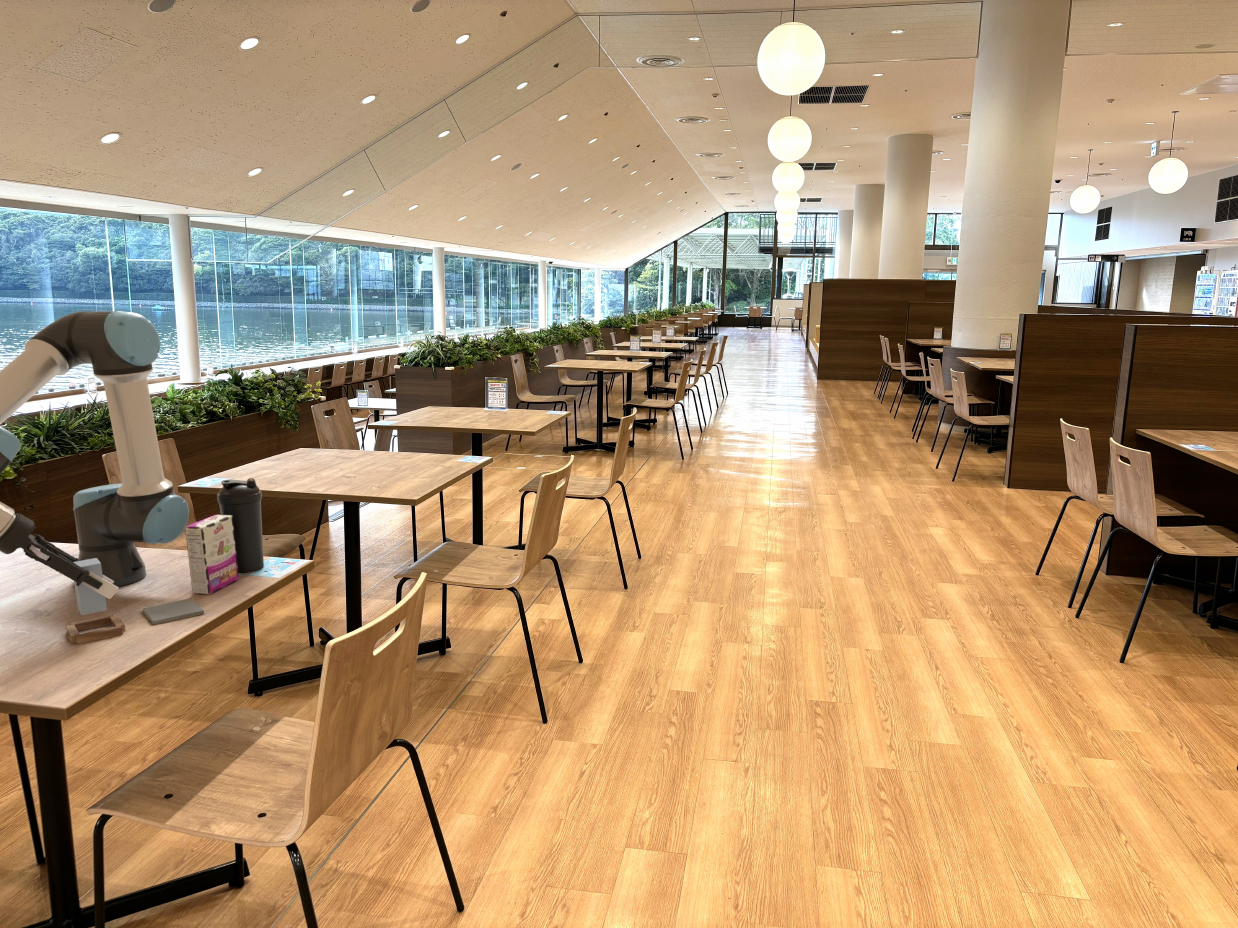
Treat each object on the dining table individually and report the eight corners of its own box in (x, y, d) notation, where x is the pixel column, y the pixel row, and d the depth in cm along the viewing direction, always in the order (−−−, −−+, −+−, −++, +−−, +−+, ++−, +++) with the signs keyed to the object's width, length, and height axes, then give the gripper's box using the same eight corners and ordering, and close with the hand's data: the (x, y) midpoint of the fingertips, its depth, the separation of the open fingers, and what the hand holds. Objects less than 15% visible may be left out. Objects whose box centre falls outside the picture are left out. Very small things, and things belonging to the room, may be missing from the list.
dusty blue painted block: (77, 608, 176) (71, 562, 174) (103, 603, 179) (96, 557, 177) (81, 615, 173) (75, 567, 171) (107, 609, 176) (100, 563, 174)
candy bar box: (221, 578, 211) (215, 513, 208) (239, 580, 210) (233, 514, 207) (190, 594, 200) (183, 525, 197) (209, 595, 199) (202, 527, 196)
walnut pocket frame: (65, 630, 178) (64, 624, 178) (117, 620, 184) (116, 613, 184) (73, 645, 171) (72, 638, 170) (127, 633, 177) (126, 626, 176)
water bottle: (224, 565, 221) (216, 477, 217) (267, 560, 225) (260, 474, 221) (223, 576, 212) (215, 485, 208) (268, 571, 216) (260, 482, 212)
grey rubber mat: (142, 611, 189) (142, 608, 189) (191, 601, 195) (191, 597, 195) (153, 624, 181) (152, 621, 181) (204, 613, 188) (203, 610, 187)
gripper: (-17, 533, 169) (90, 593, 183) (-9, 554, 156) (107, 617, 170) (11, 503, 172) (115, 564, 186) (22, 521, 159) (133, 586, 172)
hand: (111, 589), depth 178 cm, fingers closed on dusty blue painted block, 4 cm apart
